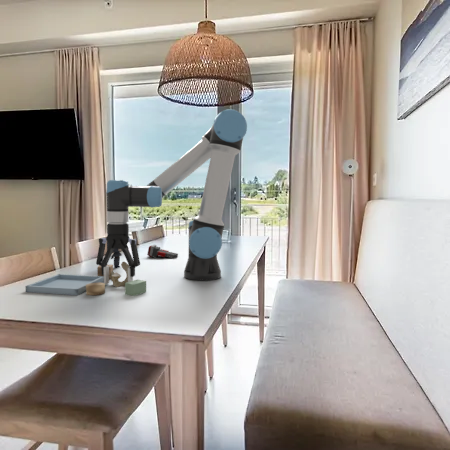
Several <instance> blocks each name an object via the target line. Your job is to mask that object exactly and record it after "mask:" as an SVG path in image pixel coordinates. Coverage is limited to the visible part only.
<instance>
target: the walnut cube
mask: <svg viewBox="0 0 450 450" xmlns="http://www.w3.org/2000/svg"><path fill="white" fill-rule="evenodd" d="M106 266H109V274H110V272H111V271H113V272H114V264H108V265H106ZM96 269H97V270H96V271H97V276H104V275H102V267H101V266H100V265H97V267H96ZM110 280H111V279H110V275H109V281H110Z"/></svg>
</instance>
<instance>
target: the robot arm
mask: <svg viewBox="0 0 450 450" xmlns="http://www.w3.org/2000/svg"><path fill="white" fill-rule="evenodd" d="M247 130H248V123H247V120H246V118H245V117H244V115H243V114H242V113H241V112H240V111H238V110H236V109H231V108H230V109H229V108H228V109H224V110H222V111H220V112H219V113H218V114H217V115H216V116H215V117H214V120H213V123H212V125H211V127H210V128H209V130H208V131H206V133H205V134H203V135H202V137H201V140H200V141H198V143H197V144H195V145H194V146H193V147H192V148H191V149H189V150H188V151H186V153H184V154H183V155H182V156H181V157H180V158H179V159H177V160H176V161H175V162H174V163H172V164H171V165H170V166H169V167H167V168H166V169H165V170H164V171H163V172H161V173H160V174H159V175H158V176H157V177H155V179H154V178H153V180H152V181H150V182H149V183H148V184H147V185H129V181H128V180H125V179H122V180H121V179H110V180H108V181H107V182H106V192H105V193H106V222H107V224H106V235H107V236H106V237H100V238H99V239H98V243H99V245H98V251H97V257H96V262H95V263H96V265H97V266H99V265H100V266H101V267H102V275H104V282H103V283H105V286H107V285H109V284H110V280H109V266H106V265H109V261H110V260H111V256H112V255H113V253H114V252H113V250H114V249H116V248H117V249H121V250H122V251H121V252H122V253H123V255H124V257H125V260H126V261H127V262H126V263H127V264H128V265H129V266H130V267H129V268H128V282H130V281H134V279H133V278H134V277H135V276H136V267H138V266H140V265H141V261H140V255H139V250H138V246H137V244H138V238H134V239H133V238H130V236H129V223H128V222H129V207H130V208H134V207H137V208H161V206H162V203H163V198H164V197H165V196H166V195H167V194H169V192H171V191H173V190H174V189H175V188H176V187H178V185H180V184H181V183H182V182H183V181H184V180H186V179H187V178H188V177H189V176H191V175H192V174H193V173H194V172H195V171H197V170H198V169H199V168H200V167H202V165H204V164H205V163H207V161H208V160H209V162H208V163H209V165H208V169H207V172H206V173H207V175H206V179H205V184H204V187H203V193H202V197H201V202H200V206H199V212H198V215H196V216H195V217H194V218H193V219H192V220H191V221H189V222H188V258H187V261H186V264H185V268H184V271H183V276H184V278H185V279H188V280H192V281H213V280H218V279H220V278H221V277H222V271H221V267H220V264H219V261H218V256H217V255H218V253H219V252H220V251H221V248H222V246H223V240H222V239H223V238H222V237H223V232H224V228H225V224H224V222H223V220H222V219H223V213H224V209H225V205H226V204H225V203H226V199H227V196H228V191H229V185H230V181H231V176H232V171H233V167H234V162H235V158H236V156H237V155H238V154H239V153H241V149H242V145H243V141H244V138H245V136H246V134H247ZM107 242H108V243H109V246H108V250H107V249H106V246H107ZM128 244H129V245H130V249H131V252H130V250H129V247H128ZM105 250H106V252H105Z"/></svg>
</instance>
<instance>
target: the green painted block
mask: <svg viewBox="0 0 450 450" xmlns="http://www.w3.org/2000/svg"><path fill="white" fill-rule="evenodd" d="M146 292H147V280H143V279H139V278H138V279H133V281H130V282H126V283H125V286H124V294H125V295H127V296H133V297H135V296H137V295H141V294H144V293H146Z"/></svg>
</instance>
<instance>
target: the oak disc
mask: <svg viewBox="0 0 450 450" xmlns="http://www.w3.org/2000/svg"><path fill="white" fill-rule="evenodd" d="M85 293H86V296H99V295H100V296H101V295H104V294H105V293H106V285H105V283H104V282H103V283H101V282H98V283H90V284H87V285H86V291H85Z"/></svg>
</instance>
